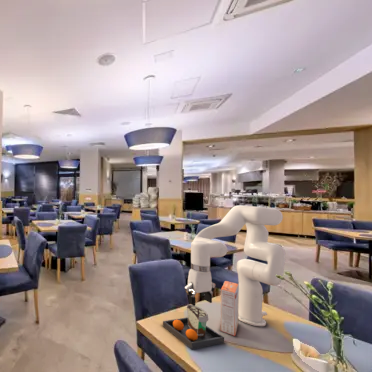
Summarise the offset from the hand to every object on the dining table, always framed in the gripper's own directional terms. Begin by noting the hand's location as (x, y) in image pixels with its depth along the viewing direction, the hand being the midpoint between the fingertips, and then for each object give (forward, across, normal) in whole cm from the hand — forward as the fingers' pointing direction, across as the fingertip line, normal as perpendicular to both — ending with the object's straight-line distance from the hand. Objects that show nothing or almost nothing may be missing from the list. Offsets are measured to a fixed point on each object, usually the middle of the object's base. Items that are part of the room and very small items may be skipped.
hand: (200, 302), depth 111 cm
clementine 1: (+11, +9, -3) cm, 15 cm away
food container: (+14, +1, 0) cm, 14 cm away
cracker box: (+15, -18, 0) cm, 23 cm away
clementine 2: (+11, +9, +4) cm, 15 cm away
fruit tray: (+14, +5, 0) cm, 15 cm away
